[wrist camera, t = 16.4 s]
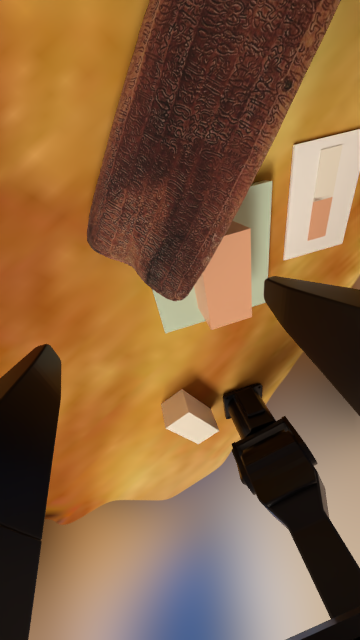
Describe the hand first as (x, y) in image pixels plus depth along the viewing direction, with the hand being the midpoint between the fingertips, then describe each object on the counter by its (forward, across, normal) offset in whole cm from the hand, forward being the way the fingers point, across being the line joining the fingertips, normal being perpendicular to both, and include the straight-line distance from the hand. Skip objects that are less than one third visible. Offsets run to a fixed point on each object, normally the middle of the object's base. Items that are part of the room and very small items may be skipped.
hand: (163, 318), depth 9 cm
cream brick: (+13, 0, +26) cm, 29 cm away
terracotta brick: (+12, -6, +4) cm, 14 cm away
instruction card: (+13, -18, +1) cm, 22 cm away
